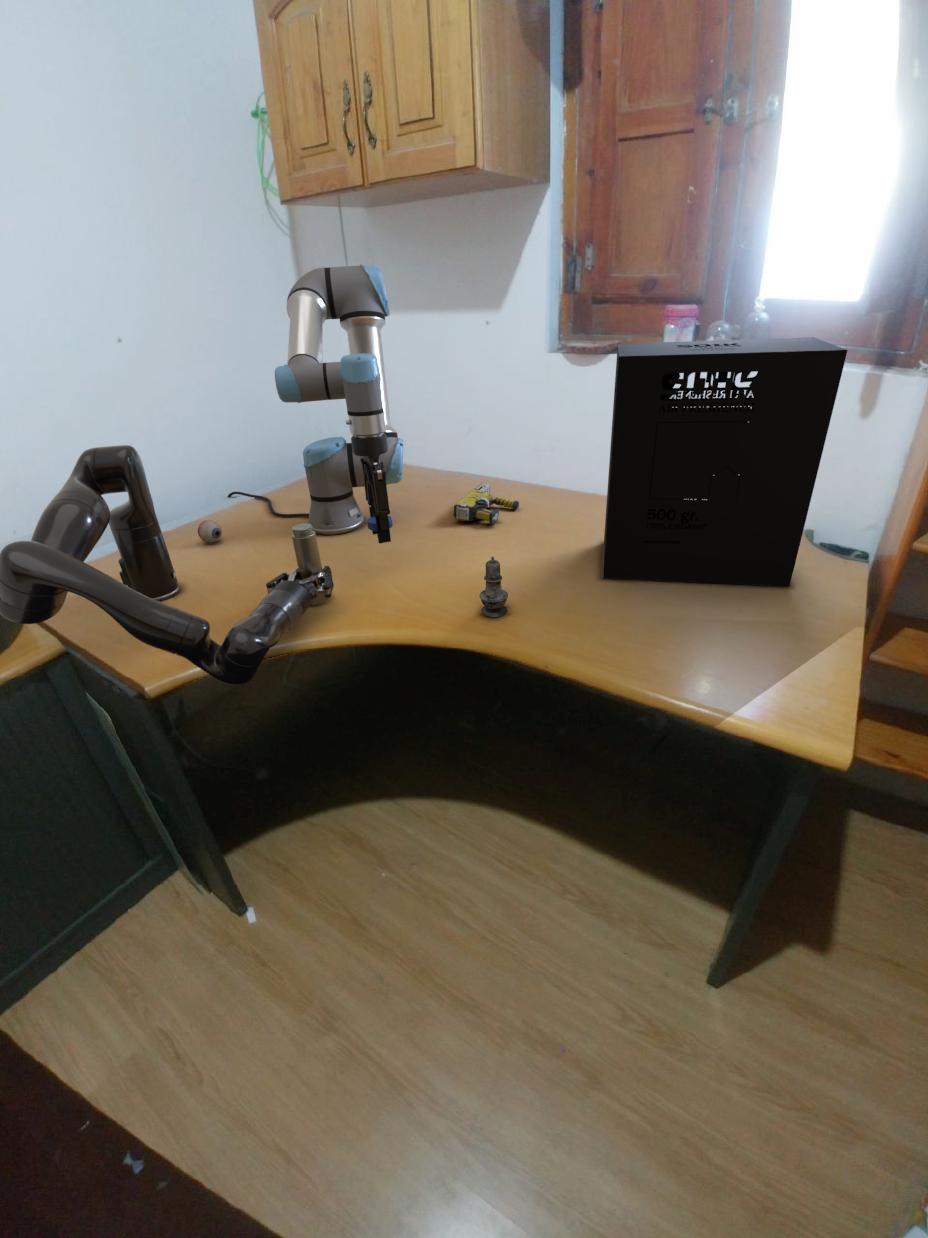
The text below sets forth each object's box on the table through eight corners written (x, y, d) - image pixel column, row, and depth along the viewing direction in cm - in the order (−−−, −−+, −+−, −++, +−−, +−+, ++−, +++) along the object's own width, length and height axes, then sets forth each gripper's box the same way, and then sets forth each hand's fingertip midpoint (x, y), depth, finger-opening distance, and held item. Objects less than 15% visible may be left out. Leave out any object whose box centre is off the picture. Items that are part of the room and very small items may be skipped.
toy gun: (527, 488, 179) (479, 481, 183) (505, 513, 159) (452, 504, 162) (525, 503, 181) (478, 496, 185) (503, 529, 161) (451, 520, 165)
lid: (370, 532, 134) (369, 524, 133) (366, 524, 139) (365, 517, 138) (394, 528, 135) (393, 521, 134) (390, 521, 140) (389, 513, 139)
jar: (321, 593, 133) (307, 520, 125) (331, 600, 130) (318, 526, 122) (301, 600, 131) (286, 526, 122) (311, 607, 128) (296, 532, 119)
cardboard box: (767, 547, 142) (813, 337, 119) (789, 586, 125) (847, 349, 102) (603, 542, 149) (617, 343, 127) (603, 578, 132) (618, 356, 110)
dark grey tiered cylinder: (506, 618, 119) (505, 563, 113) (477, 616, 120) (474, 562, 114) (510, 604, 124) (509, 550, 118) (482, 602, 125) (480, 549, 119)
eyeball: (211, 547, 159) (205, 526, 156) (196, 543, 162) (190, 522, 159) (229, 539, 163) (224, 518, 160) (214, 536, 166) (209, 515, 164)
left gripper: (252, 623, 118) (289, 583, 133) (321, 626, 116) (350, 586, 130) (243, 589, 115) (282, 552, 129) (314, 591, 112) (345, 554, 127)
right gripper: (342, 428, 133) (357, 527, 145) (359, 445, 118) (374, 554, 129) (375, 424, 135) (387, 522, 147) (396, 440, 120) (408, 548, 132)
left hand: (316, 569), depth 130 cm, fingers closed on jar, 4 cm apart
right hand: (381, 537), depth 138 cm, fingers closed on lid, 5 cm apart
